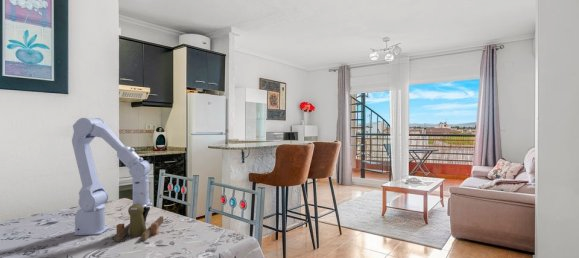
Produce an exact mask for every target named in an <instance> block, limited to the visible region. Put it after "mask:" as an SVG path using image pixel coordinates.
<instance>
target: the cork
mask: <svg viewBox="0 0 579 258" xmlns="http://www.w3.org/2000/svg"><path fill="white" fill-rule="evenodd" d="M131 208H132V209H133V210H131ZM136 208H137V210H135V209H136ZM127 211H128V212H127V214H128V215H129V224H130V231H129V233H128V235H129V236H130V237H132V238H138V237H142V233H143V232H145V231H146V230H147V229H148V228H147V227H146V222H145V221H144V218H143V214H142V213H143V211H144V208H143V206H142V205H140V204H135V205H132V204H131V205H130V206H129V208H128V210H127Z"/></svg>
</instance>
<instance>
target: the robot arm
mask: <svg viewBox="0 0 579 258" xmlns="http://www.w3.org/2000/svg"><path fill="white" fill-rule="evenodd" d="M72 129H73V133H72V137H71V143H72V149H73V152H74V156H75V161H76V165H77V169H78V172H79V178H80V182H81V188H80V189H79V191H78V196H79V199H78V206H79V208H80V209H78V210H77V211H76V212H75V216H74V233H73V236H87V235H88V236H89V235H101V234H103V233H104V232H106V231H107V230H108V229H110V227H111V226H110V225H108V226H107V225H106V203H107V202H108V200H109V193H108V191H106V190H105V186H104V185H103V184H102V183H101V182H99V181H100V180H99V177H98V173H97V169H96V164H95V160H94V157H93V153H92V148H91V142H92V141H93V140H94V139H95V138H100V139H102V140H104V141H105V143H107V145H109V147H111V148H113V150H114V151H116V153H117V154H116V158H118V159H119V160H120V161H121V162H122V163H123V164H124V165H125V167H126V168H128V169H129V170H128V173H129V175H130V176H131V178H132V179H131V180H132V204H131V206H132V205H135V204H140V205H142V206H143V208H144V211H143V213H142V214H143V218H144V221H145V223H146V222H147V217H148V214H149V211H150V210H151V206H152V205H153V202H151V199H150V183H149V182H150V180H149V179H150V178H149V175H150V172H151V169H152V165H151V164H150V162H149V161H148V160H144V158H143V157H140V155H138V154H137V152H136V151H135V150H136V149H135V148H134V147H131V146H127V145H126V146H125V145H124V143H122V141H121V140H120V139H119V138H118V136H117V135H116V134H115V133H114V132H113V131H112V129H111V128H110V127H109V124H107V123H106V122H105V121H104V119H101V118H100V117H95V118H93V117H91V118H90V117H89V118H87V117H80V118H79V119H78V120H76V121H75V123H74V124H73V125H72ZM131 210H133V209H132V208H131ZM135 210H137V208H136V209H135Z"/></svg>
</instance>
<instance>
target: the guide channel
mask: <svg viewBox="0 0 579 258" xmlns="http://www.w3.org/2000/svg"><path fill="white" fill-rule="evenodd" d="M163 223H164V216H163V215H162V216H159V217H157V219H156V220H155V221H154V222H152V223H151V224H150V225H149V227H147V228H146V229H147V230H146V231H145V232H143V233H142V236H141V241H142V242H146V241H147V240H148V239H149V238H150V237H151V236H157V235H158V234H159V227H160V226H161V225H162V224H163ZM115 227H116V229H115V230H116V234H114V243H119V242H120V241H121V240H123V239H124V238H125V237H126V236H127V235H129V231H130V223H129V224H127V225H126V226H125V223H118V224H116V226H115Z"/></svg>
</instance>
